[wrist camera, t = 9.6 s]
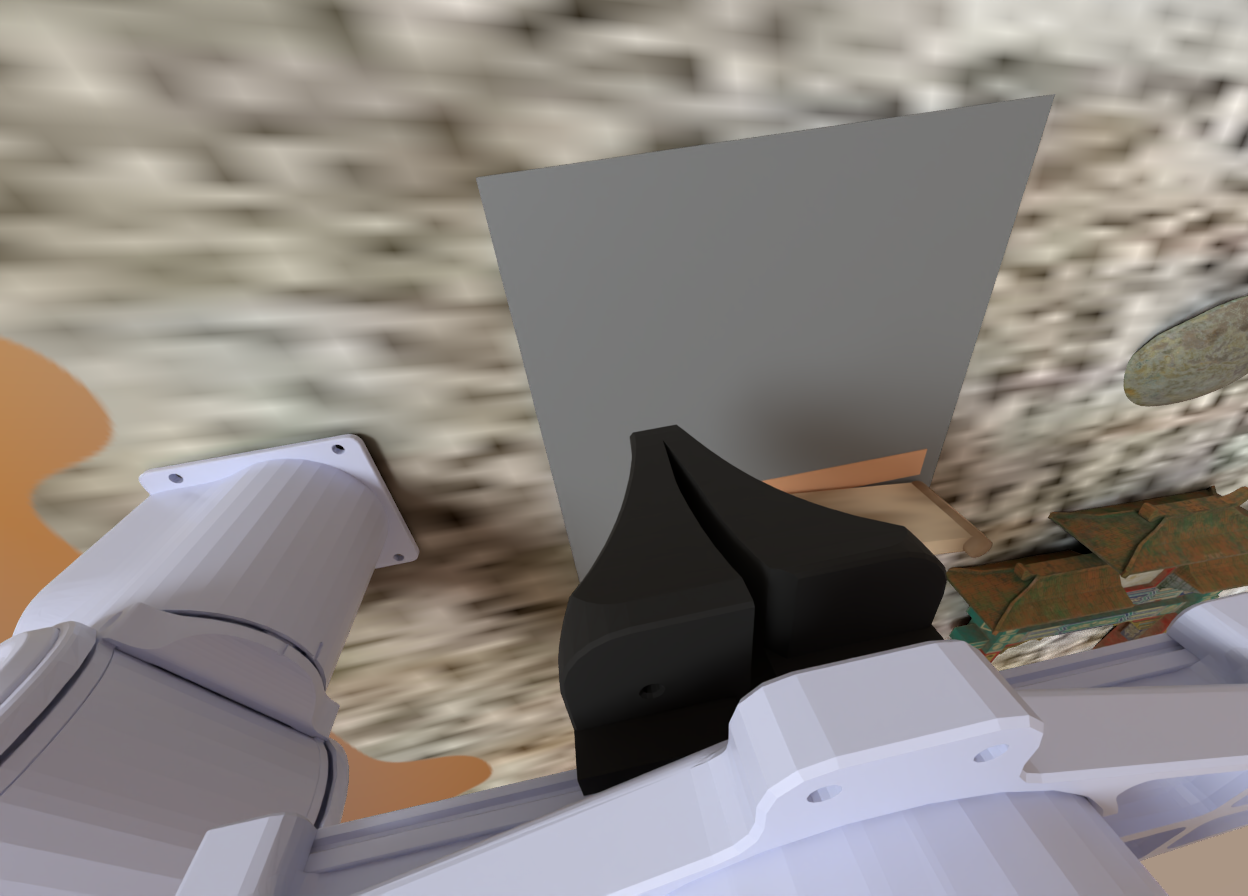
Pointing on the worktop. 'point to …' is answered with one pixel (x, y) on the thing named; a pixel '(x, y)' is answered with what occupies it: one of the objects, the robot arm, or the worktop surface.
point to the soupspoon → (1191, 357)
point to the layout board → (760, 298)
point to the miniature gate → (1111, 572)
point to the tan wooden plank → (909, 514)
